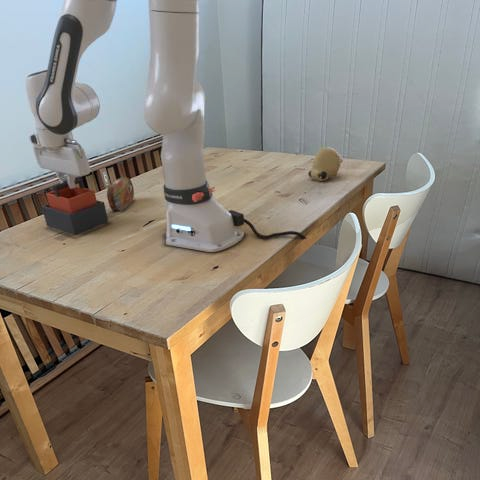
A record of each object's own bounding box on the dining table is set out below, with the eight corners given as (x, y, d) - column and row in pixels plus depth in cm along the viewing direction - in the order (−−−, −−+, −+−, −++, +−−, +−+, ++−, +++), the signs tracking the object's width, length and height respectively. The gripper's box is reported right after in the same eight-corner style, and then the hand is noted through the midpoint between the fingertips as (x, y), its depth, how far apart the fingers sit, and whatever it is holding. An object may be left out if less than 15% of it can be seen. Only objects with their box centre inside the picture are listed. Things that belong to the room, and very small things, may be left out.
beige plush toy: (314, 185, 176) (298, 170, 169) (329, 155, 176) (314, 139, 168) (334, 190, 170) (319, 175, 162) (350, 159, 169) (335, 142, 161)
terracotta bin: (101, 221, 145) (92, 180, 139) (76, 231, 140) (65, 189, 133) (79, 214, 151) (69, 174, 145) (54, 224, 146) (42, 183, 139)
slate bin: (108, 223, 146) (104, 202, 142) (75, 237, 138) (70, 215, 135) (80, 215, 154) (75, 194, 150) (47, 228, 146) (41, 206, 142)
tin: (118, 215, 152) (112, 188, 148) (109, 214, 153) (103, 188, 148) (136, 198, 164) (131, 173, 160) (127, 198, 165) (122, 173, 160)
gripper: (89, 138, 128) (100, 189, 136) (44, 131, 139) (57, 179, 147) (69, 143, 124) (81, 196, 132) (25, 136, 135) (39, 185, 143)
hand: (68, 187), depth 140 cm, fingers closed on terracotta bin
